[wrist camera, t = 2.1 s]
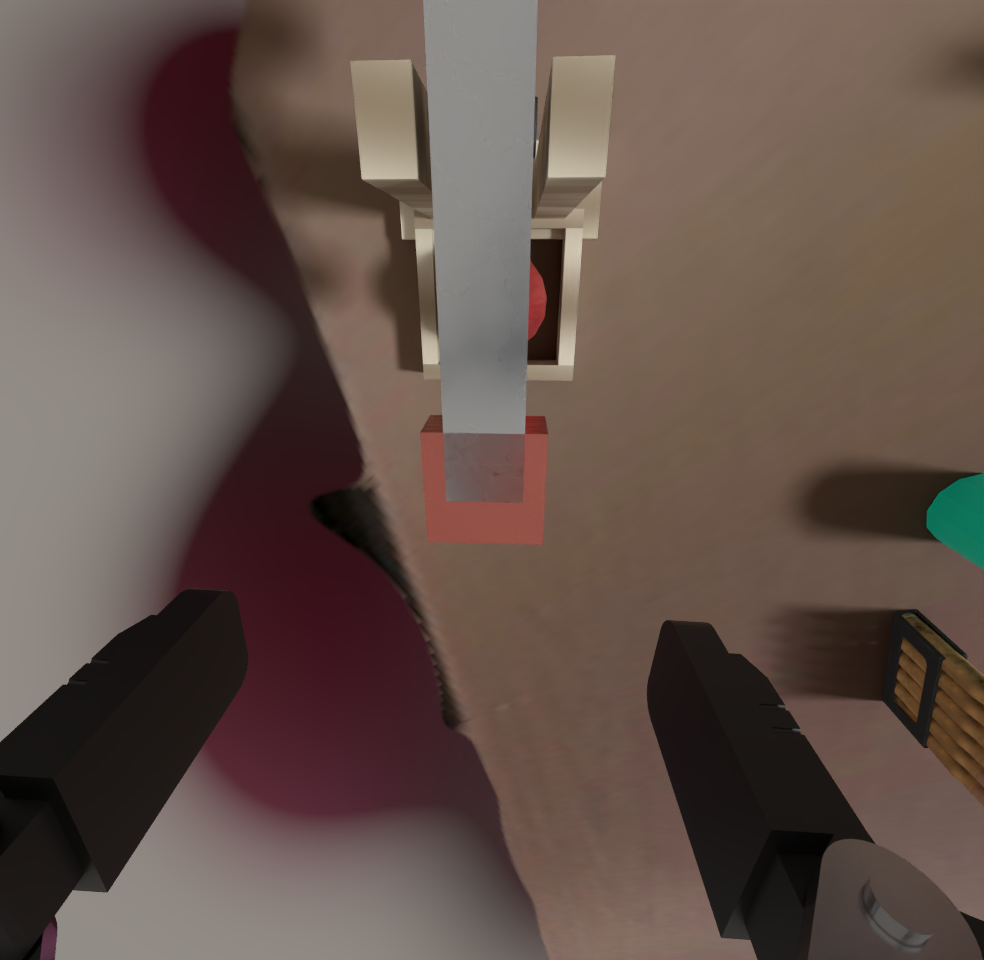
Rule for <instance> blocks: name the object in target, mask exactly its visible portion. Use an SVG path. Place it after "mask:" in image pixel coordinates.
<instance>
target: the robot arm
mask: <svg viewBox="0 0 984 960" xmlns="http://www.w3.org/2000/svg"><path fill="white" fill-rule="evenodd" d="M247 666H248V652H247V647H246V641H245V637H244V632H243V626H242V621H241V616H240V611H239V606H238V601H237V598H236V596H235V595H234V593H233V592H231V591H220V590H205V589H186V590H184V591H182V592H181V593H180V594H178V596H176V598H174V599H173V600H172V601H171V602H170V603H169V604H168V605H167V606H166V607H165V608H164V609H163V610H162V611H161V612H160V613H159V614H158V615H150V616H148V617H147V618H145V619H143V620H142V621H140V622H138V623H137V624H135V625H133V626H131V627H130V628H128V629H126V630H124V631H123V632H121V633H119V634H118V635H117V636H115V637H114V638H113V639H112V640H111V641H110V642H109V643H108V644H107V645H106V646H105V647H103V648H102V649H101V650H100V651H99V652H98V653H97V654H96V655H95V656H94V657H93V658H92V661H91V663H90V664H89V663H86V664H85V665H84V666H83V667H82V668H81V669H79V670H78V671H77V672H76V673H75V674H74V675H73V676H72V677H71V678H70V679H69V682H68V684H67V685H62V686H61V687H60V688H59V689H58V690H57V691H56V692H54V693H53V694H52V695H51V696H50V697H49V698H48V699H47V700H46V701H45V702H44V703H43V704H41V705H40V706H39V707H38V708H37V709H36V710H35V711H34V712H33V713H32V714H30V715H29V716H28V717H27V718H26V719H25V720H24V721H23V722H22V723H21V724H20V725H18V726H17V727H16V728H15V729H14V730H13V731H12V732H11V733H10V734H9V735H8V736H7V737H6V738H4V739H3V740H2V741H1V742H0V960H55V953H56V952H55V951H56V942H57V921H56V918H55V914H56V913H57V911H58V910H59V909H60V907H61V906H62V904H63V903H64V902H65V900H66V899H67V897H68V896H69V894H70V893H71V892H72V890H79V891H94V892H108V891H109V889H110V888H111V886H112V885H113V883H114V882H115V880H116V879H117V877H118V876H119V874H120V872H121V871H122V869H123V868H124V866H125V864H126V863H127V862H128V860H129V859H130V857H131V855H132V854H133V852H134V851H135V849H136V848H137V846H138V845H139V843H140V841H141V840H142V839H143V837H144V836H145V834H146V832H147V831H148V829H149V828H150V826H151V825H152V823H153V822H154V820H155V819H156V817H157V816H158V814H159V812H160V811H161V809H162V808H163V806H164V804H165V803H166V802H167V800H168V799H169V797H170V796H171V794H172V792H173V791H174V789H175V788H176V786H177V784H178V783H179V782H180V780H181V779H182V777H183V776H184V774H185V772H186V771H187V769H188V768H189V766H190V765H191V763H192V762H193V760H194V759H195V757H196V756H197V754H198V752H199V751H200V749H201V748H202V746H203V745H204V743H205V742H206V740H207V739H208V737H209V736H210V734H211V732H212V731H213V729H214V728H215V726H216V725H217V723H218V722H219V720H220V719H221V717H222V715H223V714H224V712H225V711H226V709H227V708H228V706H229V705H230V703H231V702H232V700H233V699H234V697H235V695H236V694H237V692H238V691H239V689H240V687H241V685H242V683H243V680H244V678H245V675H246V671H247ZM647 703H648V711H649V715H650V719H651V722H652V725H653V728H654V731H655V734H656V738H657V741H658V744H659V747H660V750H661V753H662V756H663V759H664V762H665V765H666V769H667V772H668V775H669V778H670V781H671V784H672V787H673V790H674V793H675V796H676V800H677V803H678V806H679V809H680V812H681V815H682V818H683V821H684V824H685V827H686V831H687V834H688V837H689V840H690V843H691V846H692V849H693V852H694V855H695V858H696V862H697V865H698V868H699V871H700V874H701V877H702V880H703V883H704V886H705V889H706V893H707V896H708V899H709V902H710V905H711V908H712V911H713V914H714V917H715V920H716V924H717V927H718V930H719V933H720V936H721V938H732V939H747V940H751V943H752V945H753V948H754V951H755V954H756V956H757V959H758V960H984V921H982V920H979V919H977V918H974V917H972V916H969V915H967V914H965V913H963V912H960V911H959V910H958V909H957V908H956V906H955V905H954V904H953V903H952V901H951V900H950V899H949V898H948V897H947V895H946V894H945V893H944V892H943V891H942V890H941V889H940V888H939V887H938V886H937V885H936V884H935V883H934V882H933V881H932V880H931V879H929V878H928V877H927V876H926V875H925V874H924V873H923V872H921V871H920V870H919V869H917V868H916V867H915V866H914V865H912V864H911V863H910V862H908V861H906V860H905V859H903V858H902V857H900V856H899V855H897V854H895V853H893V852H891V851H890V850H888V849H886V848H884V847H881V846H879V845H876V844H875V842H874V841H873V840H872V838H871V837H870V835H869V834H868V833H867V831H866V830H865V828H864V826H863V825H862V823H861V822H860V820H859V819H858V817H857V816H856V814H855V813H854V811H853V809H852V808H851V806H850V805H849V803H848V802H847V800H846V799H845V797H844V796H843V794H842V792H841V791H840V789H839V788H838V786H837V785H836V783H835V782H834V780H833V779H832V777H831V775H830V774H829V772H828V771H827V769H826V768H825V766H824V765H823V763H822V762H821V760H820V758H819V757H818V755H817V754H816V752H815V751H814V749H813V748H812V746H811V745H810V743H809V741H808V740H807V738H806V737H805V735H801V733H800V728H799V726H798V724H797V723H796V721H795V720H794V718H793V717H792V715H791V714H790V712H789V711H786V710H785V704H784V703H783V701H782V700H781V698H780V697H779V695H778V694H777V692H776V690H775V689H774V687H773V686H772V684H771V683H770V681H769V680H768V678H767V677H766V676H765V675H764V674H763V673H761V672H760V671H759V670H758V669H757V668H756V667H755V666H754V665H752V664H751V663H750V662H749V661H748V660H747V659H746V658H745V657H743V656H742V655H741V654H731V653H728V651H727V650H726V648H725V646H724V644H723V643H722V641H721V639H720V638H719V636H718V634H717V633H716V631H715V629H714V628H713V626H712V625H711V624H709V623H704V622H688V621H673V620H666V621H665V622H664V623H663V625H662V627H661V630H660V634H659V638H658V642H657V646H656V650H655V654H654V658H653V662H652V667H651V671H650V675H649V679H648V684H647Z"/></svg>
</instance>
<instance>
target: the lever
mask: <svg viewBox="0 0 984 960" xmlns="http://www.w3.org/2000/svg"><path fill="white" fill-rule="evenodd" d="M423 4H424V26H425V48H426V70H427V92H428V134H429V143H430V157H431V179H432V201H433V223H434V245H435V267H436V289H437V310H438V332H439V354H440V376H441V398H442V415H430V417H429V418H428V420H427V422H426V424H425V425H424V427H423V429H422V430H421V432H420V436H421V451H422V466H423V481H424V496H425V511H426V526H427V541H428V542H458V543H497V544H536V545H543V528H544V508H545V489H546V469H547V449H548V430H547V425H546V419H545V417H544V416H526V382H527V348H528V314H529V280H530V246H531V211H532V177H533V159H535V155H536V137H537V97H535V75H536V41H537V7H538V0H423Z"/></svg>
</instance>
